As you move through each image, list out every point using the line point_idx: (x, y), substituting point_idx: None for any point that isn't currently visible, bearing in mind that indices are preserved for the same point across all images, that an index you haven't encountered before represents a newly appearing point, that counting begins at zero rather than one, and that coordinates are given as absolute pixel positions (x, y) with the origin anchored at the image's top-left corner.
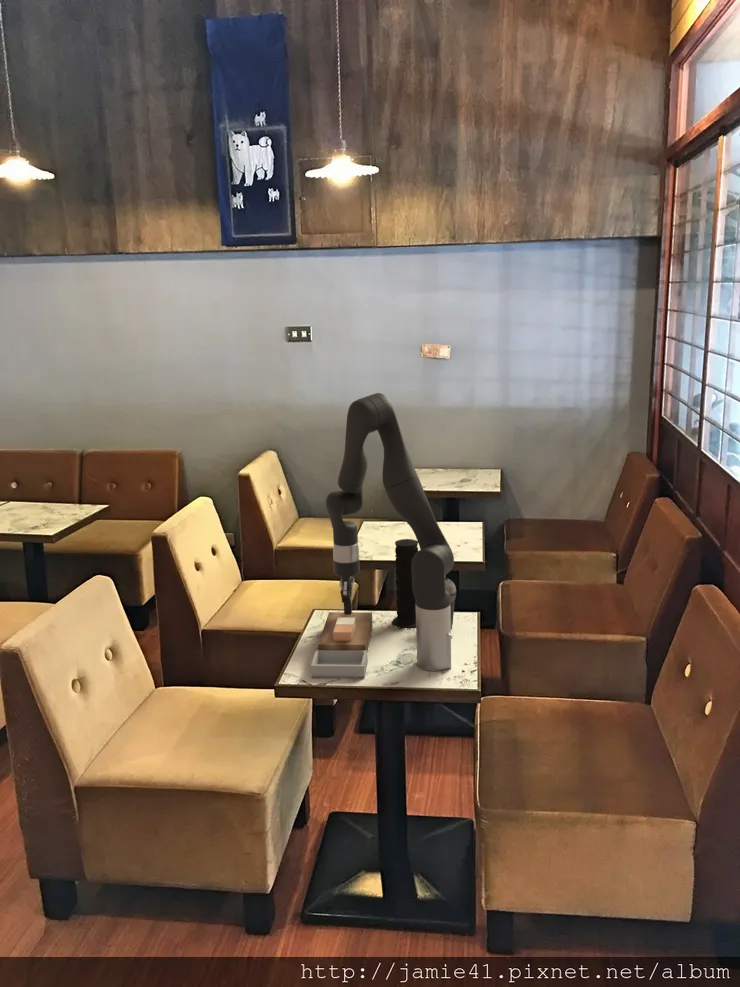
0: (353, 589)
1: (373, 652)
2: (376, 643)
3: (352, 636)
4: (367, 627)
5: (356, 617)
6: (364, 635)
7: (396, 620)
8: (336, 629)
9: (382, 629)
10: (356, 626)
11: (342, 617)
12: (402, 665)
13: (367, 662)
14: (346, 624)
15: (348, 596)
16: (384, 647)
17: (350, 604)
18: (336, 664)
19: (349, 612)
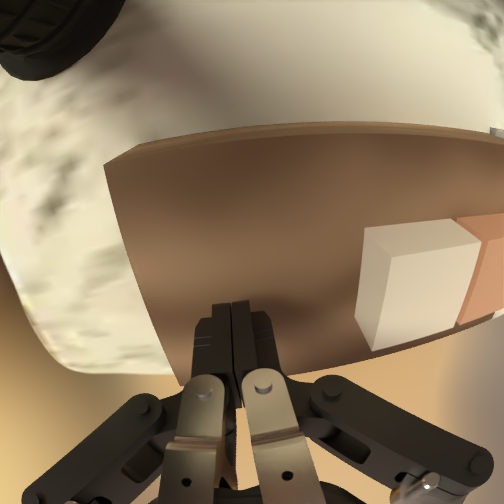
0: (181, 471)
1: (429, 100)
2: (341, 86)
3: (491, 216)
4: (394, 144)
5: (221, 252)
6: (482, 156)
7: (56, 46)
8: (497, 302)
9: (147, 86)
10: (377, 218)
11: (378, 330)
12: (493, 16)
13: (495, 128)
14: (470, 278)
15: (442, 436)
16: (381, 49)
17: (258, 359)
18: None
19: (268, 317)
